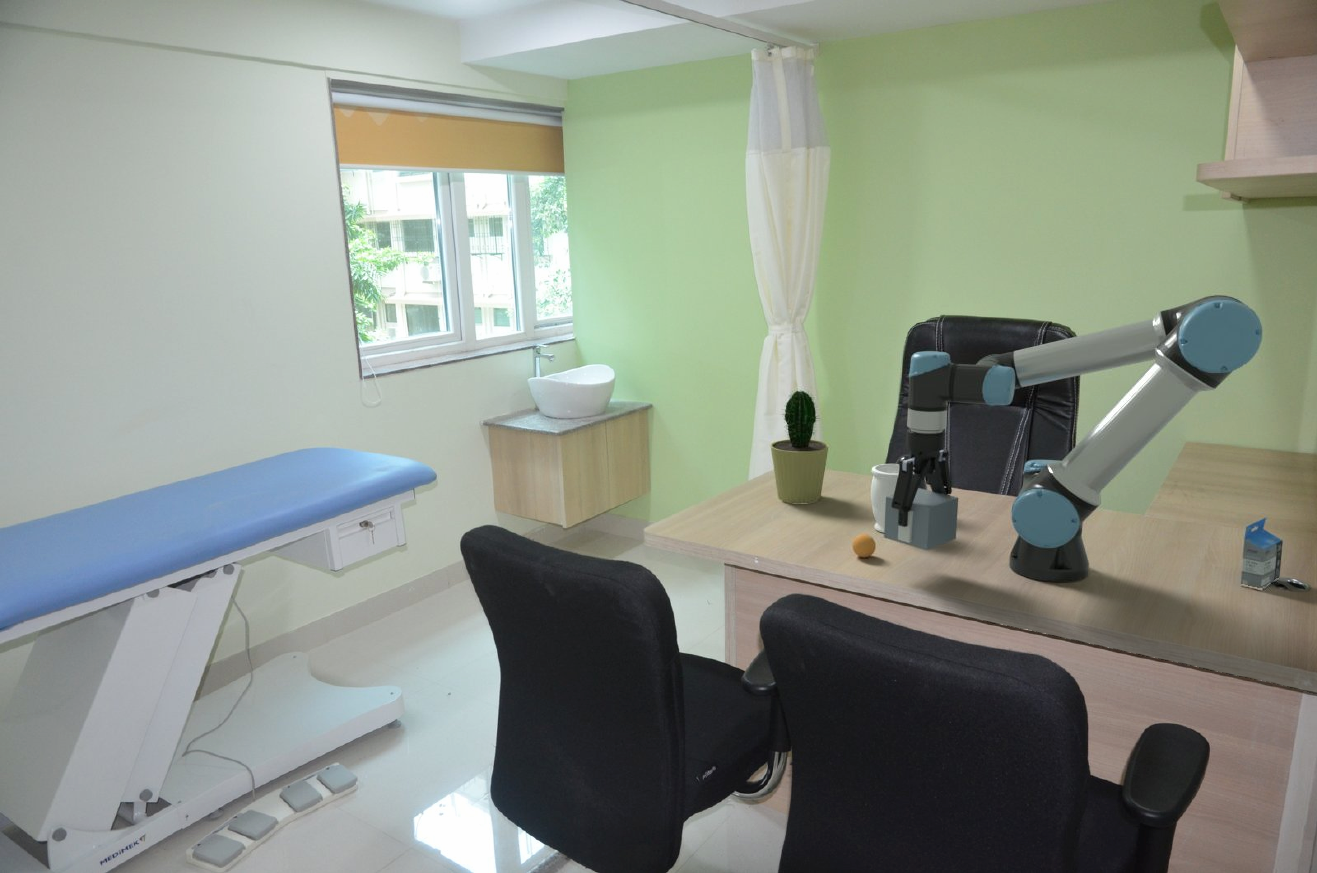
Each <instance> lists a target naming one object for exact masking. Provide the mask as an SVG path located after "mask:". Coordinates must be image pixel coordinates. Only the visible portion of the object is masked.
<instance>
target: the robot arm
mask: <svg viewBox="0 0 1317 873" xmlns="http://www.w3.org/2000/svg"><path fill="white" fill-rule="evenodd" d="M1262 340H1263V326H1262V322H1261V320H1260V318H1259V315H1257V313H1256V312H1255V311H1254V310H1253V309H1252V308H1251V307H1249V305H1247V304H1246V303H1244V302H1243V301H1241V300H1239V299H1237V298H1235V297H1231V296H1228V295H1224V294H1223V295H1222V294H1221V295H1219V294H1215V295H1208V296H1205V297H1202V298H1198V299H1196V300H1193V301H1191V302H1188V303H1186V304H1181V305H1178V306H1177V307H1172V308H1169V309H1166V310H1165V309H1164V310H1159V311H1158V312H1157V313H1156V315H1155V316H1154V317H1153V318H1150V319H1146V320H1141V321H1137V322H1132V323H1129V324H1124V325H1120V326H1116V327H1112V328H1107V329H1103V330H1099V331H1095V332H1090V333H1086V334H1082V335H1077V336H1073V337H1069V338H1065V339H1060V340H1056V341H1051V342H1048V343H1043V344H1040V345H1039V344H1038V345H1035V346H1031V347H1026V348H1022V349H1018V350H1014V351H1011V352H1009V351H1008V352H1006V353H1001V354H995V353H994V354H990V355H987V356H984V357H983V358H981V359H979V361H977V363H975V364H963V363H962V364H961V363H953V362H952V360H951V355H950V354H949V353H948V352H944V351H936V350H934V351H933V350H925V351H917V352H914V353H913V354H912V355H911V358H910V365H909V366H910V367H909V373H908V396H907V397H908V403H907V421H906V426H907V428H908V429H907V430H906V433H905V435H906V436H905V446H906V448H907V449H908V450H909V451H910V454H909V455H910V457H909V459H908V460H903V459H901V460H900V462H899V474H898V478H897V483H896V487H895V492H894V496H893V501H892V505H891V506H892V508H895V509H898V511H899V514H898V518H899V519H898V525H899V526H898V540H901V541H905V542H908V543H910V542H911V540H912V521H913V511H911V510H910V509H911V506H912V504H913V501H914V498H915V496H916V493H917V490H918V487H919V485H920V482H921V481H923V480H924V478H925V479H926V478H927V480H928V484H929V486H930V489H931V490H930V491H933V492H937V493H941V494H945V495H949V496H951V494H952V491H953V490H952V481H951V474H950V467H949V456H950V452H949V450H944V449H945V448H946V436H947V435H946V431H945V429H946V428H947V422H948V421H947V418H948V415H947V414H948V402H949V403H961V404H962V403H963V404H964V403H965V404H975V405H988V406H990V407H994V406H1008V405H1010V404H1011V403H1012V402H1013V398H1014V395H1015V390H1017V389H1021V388H1024V387H1029V386H1034V385H1039V384H1045V383H1048V382H1055V381H1058V380H1064V379H1067V378H1073V377H1078V376H1081V375H1087V374H1091V373H1096V372H1100V371H1105V370H1106V371H1107V370H1111V369H1112V370H1113V369H1114V368H1121V367H1125V366H1130V365H1136V364H1140V363H1146V362H1148V361H1154V362H1153V364H1151V366H1149V368H1148V369H1147V370H1146V371H1144V373H1143V374H1142V375H1141V376H1140V378H1138V380H1136V382H1134V383H1133V385H1132V386H1131V387H1130V388H1129V389H1128V390H1127V391H1126V392H1125V393H1124V394H1123V395H1122V396H1121V398H1119V400H1118V401H1116V403H1115V404H1114V405H1113V406H1112V407H1111V408H1110V409H1109V410H1108V411H1107V412H1106V413H1105V415H1104V416H1103V417H1101V418H1100V420H1099V421H1098V422H1097V423H1096V424H1095V425H1094V426H1093V428H1091V430H1090V431H1089V432H1087V434H1086V435H1084V437H1083V438H1082V439H1081V440H1080V441H1079V442H1078V443H1077V444H1076V445H1075V447H1073V448H1072V450H1071V451H1070V452H1069V453H1068V454H1067V455H1066V456H1064V458H1063V459H1062V460H1054V459H1031V460H1027V461H1026V462H1025V463H1024V467H1023V468H1024V469H1023V471H1022V475H1023V482H1022V487H1021V489H1020V491H1019V493H1018V494H1017V497H1016V498H1015V500H1014V501H1013V503H1012V506H1011V510H1010V511H1011V522H1012V526H1013V528H1014V530H1015V532H1016V533H1017V538H1016V539H1015V542H1014V544H1013V547H1012V548H1011V551H1010V554H1009V559H1008V560H1009V561H1008V562H1009V564H1008V566H1009V568H1010V569H1011V570H1012V571H1013V572H1015V573H1016V574H1019V575H1020V576H1023V577H1026V578H1029V579H1032V580H1038V581H1044V582H1050V583H1051V582H1052V583H1069V582H1070V583H1071V582H1076V581H1082V580H1083V579H1086V578H1087V577H1088V576H1089V570H1090V563H1089V557H1088V555H1087V551H1086V547H1085V544H1084V541H1083V526H1084V525H1083V524H1084V523H1083V522H1085V520H1087V519H1088V518H1089V516H1090V515H1091V514H1092V513H1093V512H1095V510H1097V508H1099V507H1100V505H1101V504H1102V497H1101V496H1102V495H1101V493H1102V491H1104V489H1105V488H1106V487H1107V486H1108V485H1109V484H1110V483H1111V482H1112V481H1113V480H1114V479H1115V478H1116V476H1118V474H1120V473H1121V472H1122V470H1124V469H1125V468H1126V467H1127V465H1128V464H1130V462H1131V461H1133V459H1134V458H1135V457H1137V456H1138V455H1139V453H1141V451H1142V450H1143V449H1144V448H1145V447H1146V446H1147V445H1148V444H1150V442H1151V441H1152V440H1153V439H1154V438H1155V437H1156V436H1157V435H1158V434H1159V433H1160V432H1161V431H1162V430H1163V428H1165V427H1166V426H1167V425H1168V424H1169V423H1170V422H1171V421H1172V420H1173V419H1174V418H1175V417H1176V416H1177V415H1178V414H1179V413H1180V412H1181V411H1182V410H1183V408H1184V407H1186V406H1187V405H1188V404H1189V403H1190V401H1191V400H1192V399H1194V397H1195V396H1196V395H1198V393H1200V392H1207V391H1214V390H1216V388H1218V386H1219V385H1221V383H1223V382H1224V381H1225V380H1226V379H1227V378H1228V377H1229V376H1230V375H1231V374H1232V373H1233V372H1234V371H1236V370H1237V369H1240V368H1242V367H1243V366H1244V365H1247V364H1248V363H1249V362H1251V360H1252V359H1253V358H1254V357H1255V356H1256V354H1257V353H1258V351H1259V349H1260V347H1261V344H1262ZM913 472H914V473H915V474H913Z"/></svg>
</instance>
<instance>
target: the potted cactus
mask: <svg viewBox="0 0 1317 873" xmlns="http://www.w3.org/2000/svg"><path fill="white" fill-rule="evenodd" d="M794 391H795V389H794ZM794 391H793V390H791V392H790V394H789V395H788V397H789V398H788V401H787V402H786V405H785V409H782V408H781V410H783V411H784V412H785V413H782V415H783V420H784V422H785V423H786V425H785V426H784V427H783V428H785V429H786V431H787V433H786V435H787V436H788V438H787V439H781V440H777V441H773V442H772V443H770V445H769V446H770V452H771V456H772V457H771V458H772V465H773V471H774V472H773V473H774V478H775V485H776V486H775V487H776V492H777V498H778V500H779V499H780V500H782V501H784V502H783V503H785V502H787V503H786V504H790V503H810V504H814V503H813V502H815V503H817V502H819V501H820V500H821V497H822V490H823V486H824V485H823V483H824V479H825V478H824V477H825V472H826V466H827V458H828V453H829V447H830V446H829V444H828V443H827V442H824V441H821V440H815V439H812V438H813V437H812V436H813V434H816V432H817V430H815V429H814V428H816V426H815V425H817V423H816V422H818V420H820V418H819V414H818V410H817V408H818V406H819V405H818V404H816V402H815V401H814V400H815V397H814V396H813V393H811V394H809V392H805V391H804V390H799V391H798V390H797V391H795V392H794ZM817 414H818V415H817ZM819 499H820V500H819ZM780 500H779V501H780ZM818 500H819V501H818ZM782 501H781V502H782ZM816 501H817V502H816Z"/></svg>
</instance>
